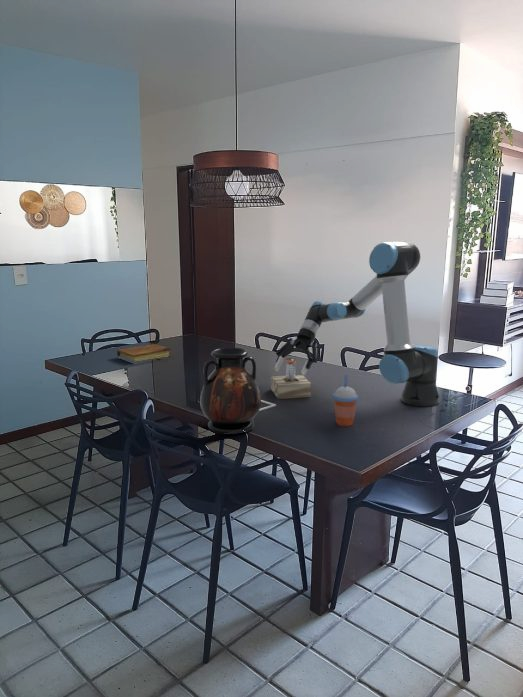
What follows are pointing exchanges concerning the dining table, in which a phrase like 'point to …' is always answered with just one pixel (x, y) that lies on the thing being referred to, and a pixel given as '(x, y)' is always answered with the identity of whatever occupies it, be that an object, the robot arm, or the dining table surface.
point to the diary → (144, 352)
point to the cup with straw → (345, 405)
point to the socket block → (290, 387)
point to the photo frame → (268, 406)
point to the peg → (290, 369)
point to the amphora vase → (230, 392)
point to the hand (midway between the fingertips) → (288, 372)
